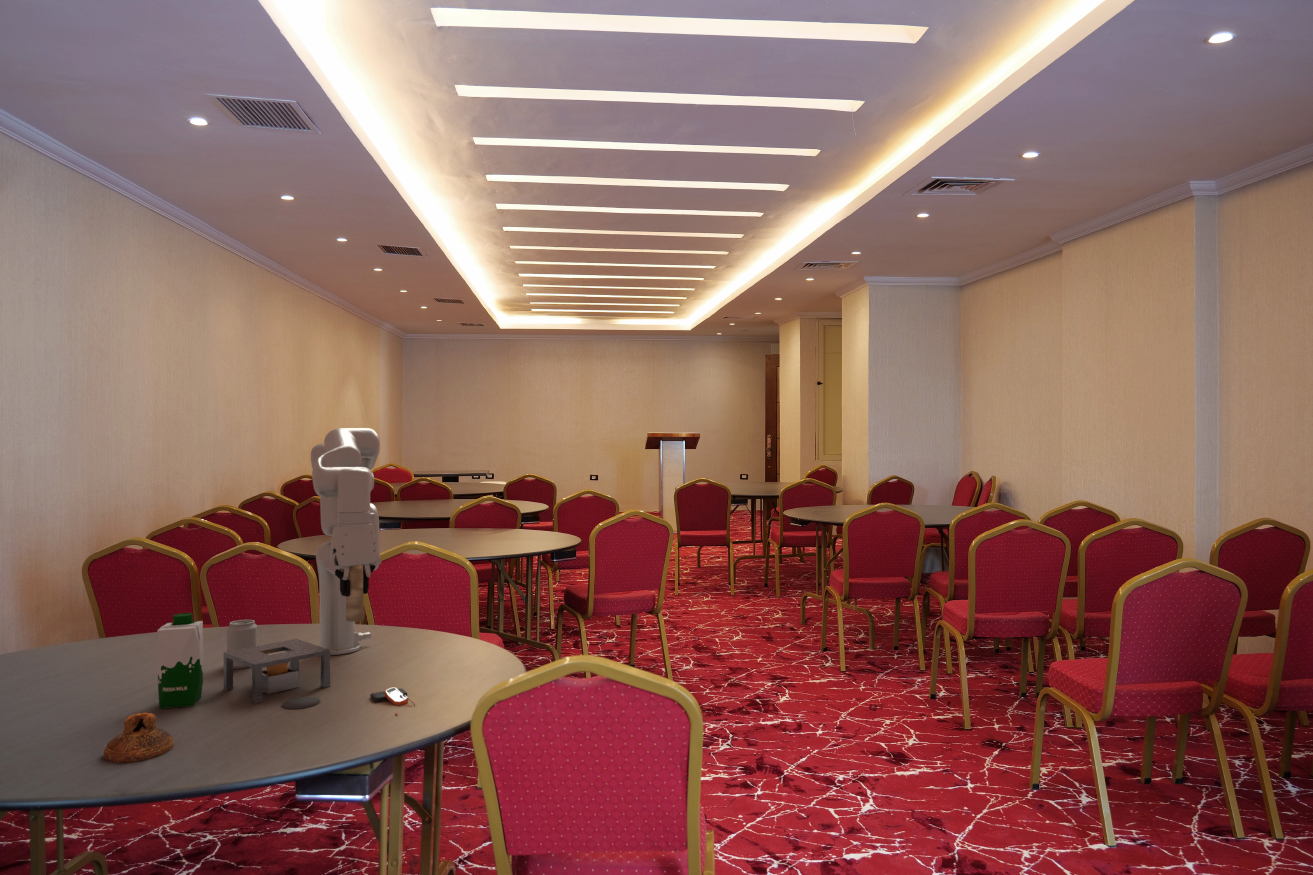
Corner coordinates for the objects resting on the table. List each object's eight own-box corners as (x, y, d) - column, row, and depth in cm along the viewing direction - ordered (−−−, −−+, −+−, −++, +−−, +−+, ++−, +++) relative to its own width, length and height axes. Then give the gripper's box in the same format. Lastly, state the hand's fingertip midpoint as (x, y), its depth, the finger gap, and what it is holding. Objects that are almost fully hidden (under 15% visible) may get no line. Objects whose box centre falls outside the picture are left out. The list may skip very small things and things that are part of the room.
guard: (296, 673, 217) (296, 638, 217) (330, 686, 205) (329, 649, 205) (223, 688, 203) (223, 651, 203) (255, 703, 191) (255, 664, 191)
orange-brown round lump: (282, 670, 207) (282, 652, 207) (291, 674, 204) (291, 656, 204) (262, 674, 204) (262, 656, 204) (271, 678, 201) (271, 660, 201)
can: (263, 662, 228) (263, 618, 228) (247, 669, 221) (247, 624, 221) (237, 661, 229) (237, 618, 229) (220, 669, 221) (220, 624, 222)
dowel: (358, 617, 205) (357, 552, 205) (366, 619, 203) (366, 553, 203) (342, 619, 202) (342, 554, 202) (351, 622, 200) (350, 555, 200)
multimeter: (440, 711, 186) (439, 696, 186) (384, 721, 180) (384, 705, 180) (421, 691, 201) (421, 677, 201) (369, 699, 196) (369, 685, 196)
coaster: (310, 695, 197) (310, 694, 197) (326, 702, 191) (326, 700, 192) (276, 704, 191) (276, 702, 191) (291, 711, 186) (291, 709, 186)
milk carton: (206, 695, 198) (206, 611, 198) (196, 707, 189) (196, 619, 189) (165, 698, 196) (164, 613, 196) (153, 710, 187) (152, 621, 187)
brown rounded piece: (185, 740, 168) (185, 704, 168) (151, 763, 156) (151, 724, 156) (126, 742, 168) (126, 705, 168) (88, 764, 156) (88, 725, 156)
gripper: (377, 515, 211) (377, 588, 211) (313, 520, 199) (313, 597, 199) (393, 517, 206) (393, 591, 206) (328, 522, 194) (329, 601, 194)
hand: (354, 593), depth 203 cm, fingers closed on dowel, 4 cm apart
